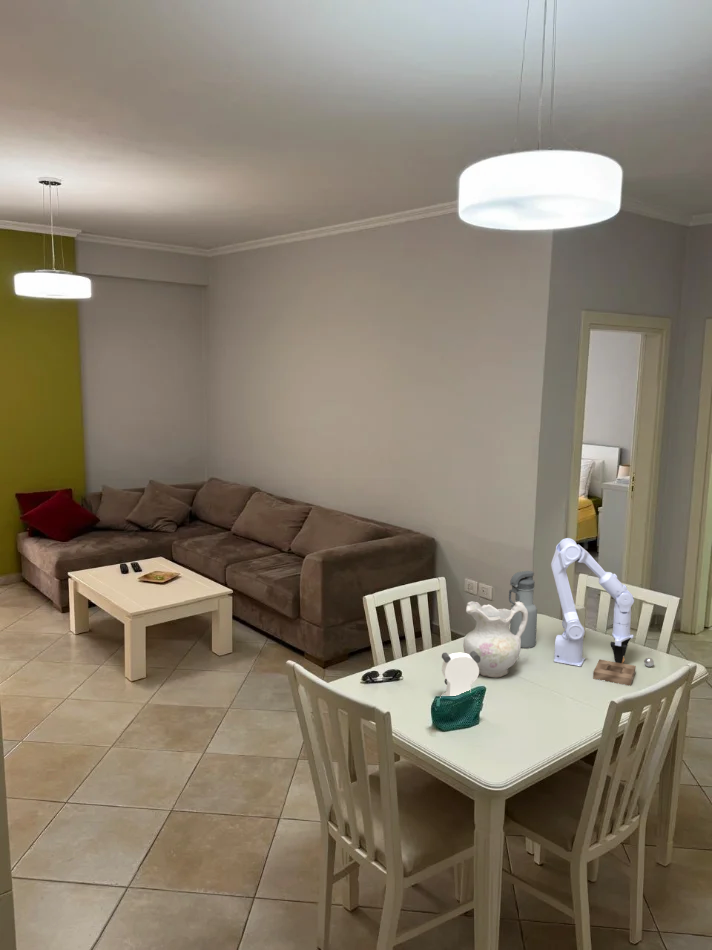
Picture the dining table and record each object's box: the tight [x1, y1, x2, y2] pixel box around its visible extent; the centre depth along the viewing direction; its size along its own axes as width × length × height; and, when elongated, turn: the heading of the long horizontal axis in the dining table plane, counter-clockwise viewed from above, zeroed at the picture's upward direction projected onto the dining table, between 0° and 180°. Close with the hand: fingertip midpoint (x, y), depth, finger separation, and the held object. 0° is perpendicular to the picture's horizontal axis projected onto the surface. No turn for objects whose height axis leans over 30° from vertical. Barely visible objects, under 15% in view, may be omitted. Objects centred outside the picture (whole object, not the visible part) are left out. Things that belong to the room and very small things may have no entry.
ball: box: [643, 656, 655, 668], centre depth 255 cm, size 3×3×3 cm
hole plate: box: [592, 659, 637, 686], centre depth 247 cm, size 12×12×2 cm
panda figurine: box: [440, 651, 481, 697], centre depth 228 cm, size 12×11×15 cm
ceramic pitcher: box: [462, 601, 528, 679], centre depth 250 cm, size 22×20×25 cm
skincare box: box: [574, 603, 586, 638], centre depth 284 cm, size 6×4×12 cm
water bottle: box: [508, 570, 538, 649], centre depth 274 cm, size 10×10×28 cm
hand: (619, 658), depth 258 cm, fingers open, 7 cm apart
